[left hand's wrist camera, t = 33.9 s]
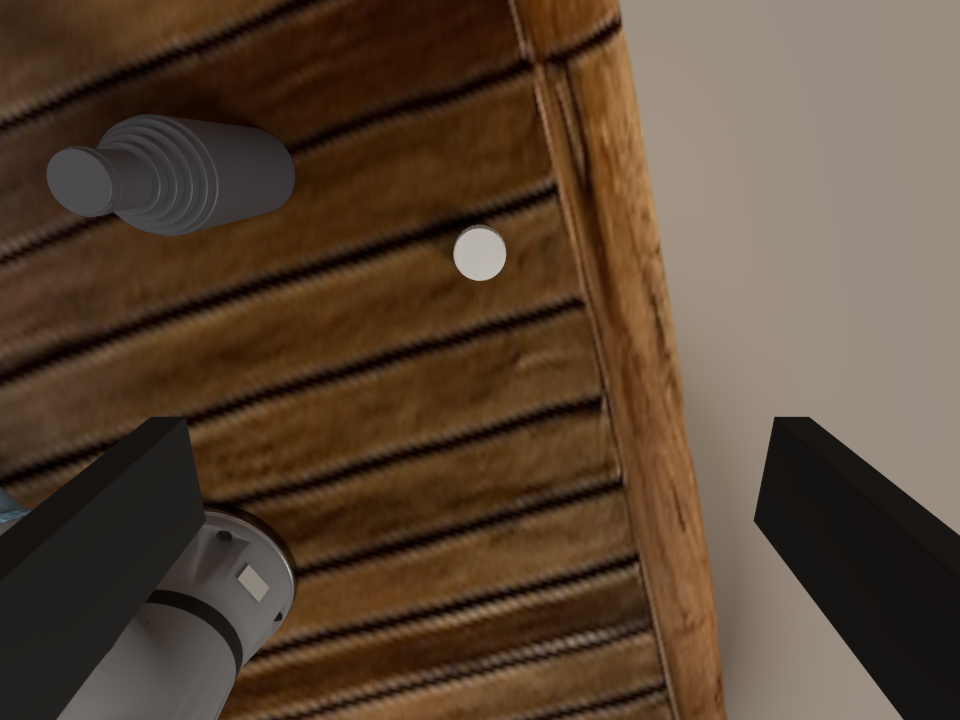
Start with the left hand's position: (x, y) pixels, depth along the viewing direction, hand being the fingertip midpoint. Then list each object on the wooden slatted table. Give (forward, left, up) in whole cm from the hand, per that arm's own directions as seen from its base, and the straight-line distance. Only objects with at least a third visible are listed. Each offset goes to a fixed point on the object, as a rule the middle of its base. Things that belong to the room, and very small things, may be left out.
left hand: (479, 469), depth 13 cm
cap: (0, 0, -30) cm, 30 cm away
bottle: (-13, +11, -31) cm, 36 cm away
